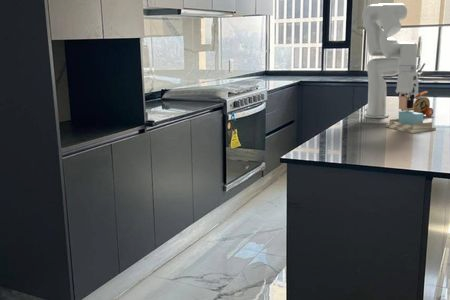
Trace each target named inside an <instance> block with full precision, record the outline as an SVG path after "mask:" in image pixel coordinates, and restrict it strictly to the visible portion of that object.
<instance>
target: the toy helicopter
mask: <svg viewBox="0 0 450 300" xmlns="http://www.w3.org/2000/svg"><path fill="white" fill-rule="evenodd" d="M418 93H419V94H418V95H417V96H416V97H415V100H414V109H409V110H403V109H400V111H413V112H417V113H422V114H423V116H426V117H428V118H430V117H432V116H433V114H434V109H433V108H432V107H430V105H431V103H430V102H431V101H430V99H429V98H428V97H426V96H423V95H425V94H428V93H429V91H427V90H424V91H421V92H418Z"/></svg>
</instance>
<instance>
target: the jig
mask: <svg viewBox="0 0 450 300" xmlns="http://www.w3.org/2000/svg"><path fill="white" fill-rule="evenodd" d="M398 119H399V117H398V118H391V119H389V123H388V124H385V127H386V128H388V127H389V128H388V129H393V130H397V131H402V132H406V133H412V134H414V133H416V134H417V133H422V132H431V131H436V130H437V127H436V126H433V121H426V122H423V123H417V124H412V125H408V124H403V123H398ZM430 130H431V131H430Z"/></svg>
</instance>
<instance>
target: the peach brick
mask: <svg viewBox="0 0 450 300" xmlns="http://www.w3.org/2000/svg"><path fill="white" fill-rule="evenodd" d="M407 100H408V95H405V96H398V109H399V110H401V109H403V110H409V109H414V103H415V99H414V100H413V108H407Z"/></svg>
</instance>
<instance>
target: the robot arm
mask: <svg viewBox="0 0 450 300" xmlns="http://www.w3.org/2000/svg"><path fill="white" fill-rule="evenodd" d="M407 14H408V8H407V6H406V5H405V4H404V3H401V2H399V3H398V2H397V3H393V2H392V3H378V4H377V3H373V4H369V5H366V6H365V7H364V8H363V10H362V15H361V17H362V23H363V26H364V29H365V32H366V42H367V51H368V53H369V56H371V57H376V58H372V59H370V60H369V61H368V62H367V64H366V70H367V72H366V73H367V79H368V81H367V82H368V85H367V87H368V88H367V89H368V90H367V108H364V111H365V112H366V113H364V117H365V118H371V119H384V118H388V117H389V114H388V113H386V112H387V111H386V110H387V89H388V88H387V86H388V85H387V82H386V81H385V78H383V77H390V76H397V81H396V89H395V93H396V94H397V96H398V97H399V96H406V94H407V96H408V100H407V108H413V100H414V101H415V100H416V98H415V97H416V96H417V95H418V94H419V93H420V92H419V77H418V76H419V75H418V72H417V59H418V57H417V56H418V43H416V42H412V41H411V42H409V41H397V39H395V38H394V37H392V36H394V35H396V34H398V33H399V32H400V30H401V29H402V24H401V21H403V20H405V19H406V18H407V16H408V15H407ZM377 21H379V22H380V24H379V23H378V22H377ZM377 57H378V58H377ZM379 57H380V58H379Z"/></svg>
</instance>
